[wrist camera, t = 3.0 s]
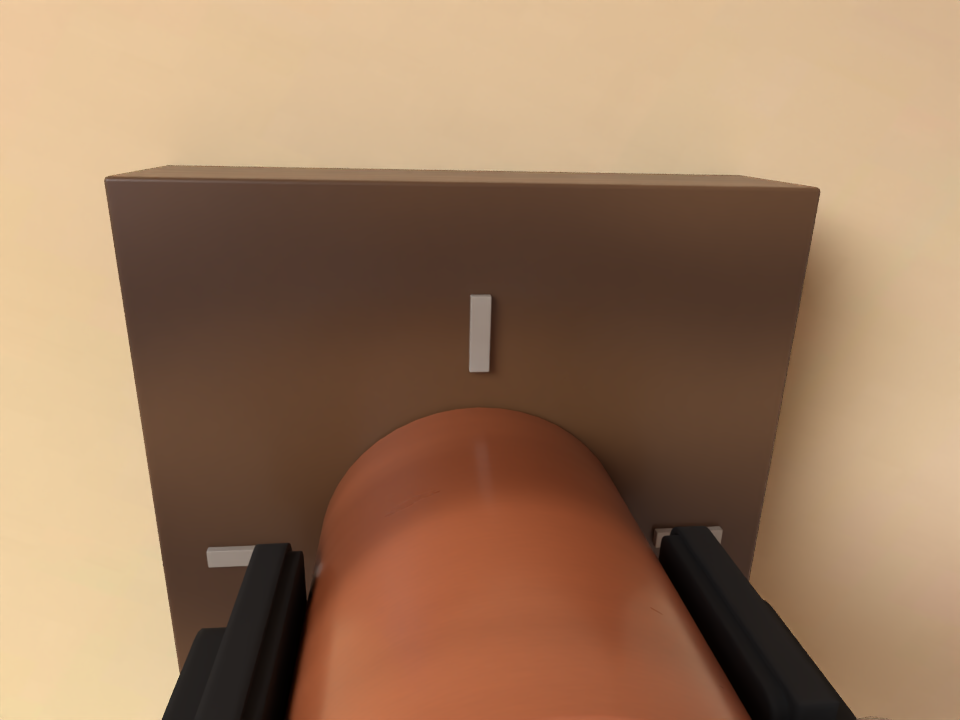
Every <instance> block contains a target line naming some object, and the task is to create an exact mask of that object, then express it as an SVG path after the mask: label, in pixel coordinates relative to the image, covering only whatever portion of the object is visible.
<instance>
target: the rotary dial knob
mask: <svg viewBox="0 0 960 720" xmlns="http://www.w3.org/2000/svg"><path fill="white" fill-rule="evenodd" d="M284 720H752V719H751V717H750V716H749V714H748V712H747V710H746V709H745V707H744V705H743V704H742V702H741V700H740V698H739V697H738V695H737V693H736V692H735V690H734V688H733V687H732V685H731V683H730V681H729V680H728V678H727V676H726V675H725V673H724V671H723V669H722V668H721V666H720V664H719V663H718V661H717V659H716V657H715V656H714V654H713V652H712V651H711V649H710V647H709V645H708V644H707V642H706V640H705V639H704V637H703V635H702V634H701V632H700V630H699V628H698V627H697V625H696V623H695V622H694V620H693V618H692V616H691V615H690V613H689V611H688V610H687V608H686V606H685V604H684V603H683V601H682V599H681V598H680V596H679V594H678V592H677V591H676V589H675V587H674V586H673V584H672V582H671V581H670V579H669V577H668V575H667V574H666V572H665V570H664V569H663V567H662V565H661V563H660V562H659V560H658V558H657V557H656V555H655V553H654V551H653V550H652V548H651V546H650V545H649V543H648V541H647V539H646V538H645V536H644V534H643V533H642V531H641V529H640V528H639V526H638V524H637V522H636V521H635V519H634V517H633V516H632V514H631V512H630V510H629V509H628V507H627V505H626V504H625V502H624V500H623V498H622V497H621V495H620V493H619V492H618V490H617V488H616V486H615V485H614V483H613V481H612V480H611V478H610V476H609V475H608V473H607V472H606V470H605V468H604V467H603V465H602V464H601V462H600V461H599V460H598V459H597V457H596V456H595V455H594V454H593V453H592V452H591V451H590V450H589V448H588V447H586V446H585V445H584V444H583V443H582V442H581V441H579V440H578V439H577V438H576V437H575V436H573V435H572V434H570V433H569V432H567V431H565V430H564V429H562V428H561V427H559V426H557V425H555V424H553V423H551V422H548V421H546V420H544V419H542V418H539V417H536V416H533V415H529V414H526V413H523V412H519V411H513V410H507V409H501V408H481V407H477V408H465V409H455V410H450V411H445V412H440V413H436V414H433V415H430V416H427V417H424V418H421V419H418V420H415V421H413V422H411V423H409V424H407V425H405V426H402V427H400V428H398V429H396V430H395V431H393V432H391V433H390V434H388V435H387V436H385V437H384V438H382V439H380V440H379V441H378V442H376V443H375V444H374V445H373V446H372V447H370V448H369V449H368V450H367V451H366V452H364V453H363V454H362V455H361V456H360V457H359V458H358V460H357V461H356V462H355V463H354V464H353V465H352V466H351V467H350V468H349V470H348V471H347V472H346V474H345V475H344V477H343V478H342V480H341V481H340V482H339V484H338V486H337V488H336V490H335V492H334V494H333V496H332V497H331V499H330V502H329V505H328V508H327V511H326V514H325V517H324V520H323V525H322V530H321V535H320V540H319V545H318V550H317V555H316V560H315V565H314V570H313V575H312V580H311V585H310V590H309V595H308V600H307V605H306V610H305V615H304V620H303V625H302V630H301V635H300V640H299V645H298V650H297V655H296V660H295V665H294V670H293V675H292V680H291V685H290V691H289V696H288V701H287V706H286V711H285V716H284Z"/></svg>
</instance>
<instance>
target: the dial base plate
mask: <svg viewBox="0 0 960 720" xmlns="http://www.w3.org/2000/svg"><path fill="white" fill-rule="evenodd" d="M104 182H105V189H106V195H107V202H108V208H109V215H110V221H111V228H112V234H113V241H114V247H115V254H116V260H117V267H118V273H119V280H120V286H121V293H122V299H123V306H124V312H125V319H126V325H127V332H128V338H129V345H130V352H131V358H132V365H133V371H134V378H135V384H136V391H137V397H138V404H139V410H140V417H141V423H142V430H143V436H144V443H145V449H146V456H147V462H148V469H149V475H150V482H151V488H152V495H153V502H154V508H155V515H156V521H157V528H158V534H159V541H160V547H161V554H162V560H163V567H164V573H165V580H166V586H167V593H168V599H169V606H170V612H171V619H172V625H173V632H174V638H175V645H176V651H177V658H178V665H179V671H180V673H181V671H182V668H183V666H184V663H185V661H186V658H187V656H188V653H189V651H190V648H191V646H192V643H193V641H194V639H195V637H196V635H197V633H198V631H199V630H201V629H202V628H219V627H227V624H228V621H229V618H230V615H231V612H232V610H233V607H234V604H235V601H236V598H237V595H238V592H239V590H240V587H241V584H242V581H243V578H244V575H245V572H246V570H247V567H248V564H249V561H250V558H251V555H252V552H253V550H254V547H255V545H257V544H272V543H290V544H291V547H292V551H302V552H303V555H304V567H305V580H306V594H307V600H308V595H309V590H310V585H311V580H312V575H313V570H314V565H315V560H316V555H317V550H318V545H319V540H320V535H321V530H322V525H323V520H324V517H325V514H326V511H327V508H328V505H329V502H330V499H331V497H332V496H333V494H334V492H335V490H336V488H337V486H338V484H339V482H340V481H341V480H342V478H343V477H344V475H345V474H346V472H347V471H348V470H349V468H350V467H351V466H352V465H353V464H354V463H355V462H356V461H357V460H358V458H359V457H360V456H361V455H362V454H363V453H364V452H366V451H367V450H368V449H369V448H370V447H372V446H373V445H374V444H375V443H376V442H378V441H379V440H380V439H382V438H384V437H385V436H387V435H388V434H390V433H391V432H393V431H395V430H396V429H398V428H400V427H402V426H405V425H407V424H409V423H411V422H413V421H415V420H418V419H421V418H424V417H427V416H430V415H433V414H436V413H440V412H445V411H450V410H455V409H465V408H477V407H481V408H501V409H507V410H513V411H519V412H523V413H526V414H529V415H533V416H536V417H539V418H542V419H544V420H546V421H548V422H551V423H553V424H555V425H557V426H559V427H561V428H562V429H564V430H565V431H567V432H569V433H570V434H572V435H573V436H575V437H576V438H577V439H578V440H579V441H581V442H582V443H583V444H584V445H585V446H586V447H588V448H589V450H590V451H591V452H592V453H593V454H594V455H595V456H596V457H597V459H598V460H599V461H600V462H601V464H602V465H603V467H604V468H605V470H606V472H607V473H608V475H609V476H610V478H611V480H612V481H613V483H614V485H615V486H616V488H617V490H618V492H619V493H620V495H621V497H622V498H623V500H624V502H625V504H626V505H627V507H628V509H629V510H630V512H631V514H632V516H633V517H634V519H635V521H636V522H637V524H638V526H639V528H640V529H641V531H642V533H643V534H644V536H645V538H646V539H647V541H648V543H649V545H650V546H651V548H652V550H653V551H654V553H655V555H656V557H657V558H658V560H659V552H660V545H661V540H662V538H663V536H667V535H670V532H671V530H672V529H673V528H674V527H686V526H706V527H707V528H708V529H710V531H711V532H712V533H713V535H714V536H715V537H716V539H717V540H718V541H719V543H720V544H721V545H722V547H723V548H724V549H725V551H726V552H727V553H728V555H729V556H730V557H731V559H732V560H733V561H734V563H735V564H736V565H737V567H738V568H739V569H740V571H741V572H742V573H743V575H744V576H745V577H746V579H747V580H748V581H749V577H750V572H751V566H752V561H753V556H754V550H755V545H756V539H757V534H758V528H759V523H760V517H761V512H762V507H763V501H764V496H765V490H766V485H767V479H768V474H769V468H770V463H771V458H772V452H773V447H774V441H775V436H776V430H777V425H778V419H779V414H780V409H781V403H782V398H783V392H784V387H785V381H786V376H787V370H788V365H789V360H790V354H791V349H792V343H793V338H794V332H795V327H796V321H797V316H798V311H799V305H800V300H801V294H802V289H803V283H804V278H805V272H806V267H807V262H808V256H809V251H810V245H811V240H812V234H813V229H814V223H815V218H816V213H817V207H818V202H819V196H820V189H819V188H817V187H811V186H805V185H798V184H792V183H786V182H779V181H773V180H766V179H760V178H754V177H747V176H740V175H683V174H626V173H570V172H513V171H456V170H400V169H343V168H286V167H230V166H173V165H167V166H162V167H156V168H151V169H145V170H140V171H134V172H129V173H123V174H117V175H112V176H108V177H105V181H104Z"/></svg>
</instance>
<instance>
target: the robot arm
mask: <svg viewBox="0 0 960 720" xmlns="http://www.w3.org/2000/svg"><path fill="white" fill-rule="evenodd" d="M659 562H660V563H661V565H662V567H663V569H664V570H665V572H666V574H667V575H668V577H669V579H670V581H671V582H672V584H673V586H674V587H675V589H676V591H677V592H678V594H679V596H680V598H681V599H682V601H683V603H684V604H685V606H686V608H687V610H688V611H689V613H690V615H691V616H692V618H693V620H694V622H695V623H696V625H697V627H698V628H699V630H700V632H701V634H702V635H703V637H704V639H705V640H706V642H707V644H708V645H709V647H710V649H711V651H712V652H713V654H714V656H715V657H716V659H717V661H718V663H719V664H720V666H721V668H722V669H723V671H724V673H725V675H726V676H727V678H728V680H729V681H730V683H731V685H732V687H733V688H734V690H735V692H736V693H737V695H738V697H739V698H740V700H741V702H742V704H743V705H744V707H745V709H746V710H747V712H748V714H749V716H750V717H751V719H752V720H890V719H887V718H878V717H865V718H859V719H857V718H856V717H855V715H854V714H853V713H852V712H851V710H850V709H849V708H848V706H847V705H846V704H845V702H844V701H843V700H842V698H841V697H840V696H839V694H838V693H837V692H836V690H835V689H834V688H833V687H832V685H831V684H830V683H829V681H828V680H827V679H826V677H825V676H824V675H823V673H822V672H821V671H820V669H819V668H818V667H817V666H816V664H815V663H814V662H813V660H812V659H811V658H810V656H809V655H808V654H807V652H806V651H805V650H804V648H803V647H802V646H801V645H800V643H799V642H798V641H797V639H796V638H795V637H794V635H793V634H792V633H791V631H790V630H789V629H788V627H787V626H786V625H785V623H784V622H783V621H782V620H781V618H780V617H779V616H778V614H777V613H776V612H775V610H774V609H773V608H772V607H771V606H770V605H769V604H768V603H767V602H766V601H765V600H762V598H761V597H760V596H759V594H758V593H757V592H756V591H755V589H754V588H753V587H752V585H751V584H750V583H749V581H748V580H747V579H746V577H745V576H744V575H743V573H742V572H741V571H740V569H739V568H738V567H737V565H736V564H735V563H734V561H733V560H732V559H731V557H730V556H729V555H728V553H727V552H726V551H725V549H724V548H723V547H722V545H721V544H720V543H719V541H718V540H717V539H716V537H715V536H714V535H713V533H712V532H711V531H710V529H708V528H707V527H706V526H686V527H674V528H673V529H672V530H671V532H670V535H667V536H663V538H662V540H661V545H660V552H659ZM306 605H307V594H306V580H305V567H304V555H303V552H302V551H292V547H291V544H290V543H272V544H257V545H255V547H254V550H253V552H252V555H251V558H250V561H249V564H248V567H247V570H246V572H245V575H244V578H243V581H242V584H241V587H240V590H239V592H238V595H237V598H236V601H235V604H234V607H233V610H232V612H231V615H230V618H229V621H228V624H227V627H219V628H202V629H201V630H199V631H198V633H197V635H196V637H195V639H194V641H193V643H192V646H191V648H190V651H189V653H188V656H187V658H186V661H185V663H184V666H183V668H182V671H181V673H180V676H179V678H178V680H177V683H176V685H175V688H174V690H173V693H172V695H171V698H170V700H169V703H168V705H167V708H166V710H165V713H164V715H163V718H162V720H284V716H285V711H286V706H287V701H288V696H289V691H290V685H291V680H292V675H293V670H294V665H295V660H296V655H297V650H298V645H299V640H300V635H301V630H302V625H303V620H304V615H305V610H306Z"/></svg>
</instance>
